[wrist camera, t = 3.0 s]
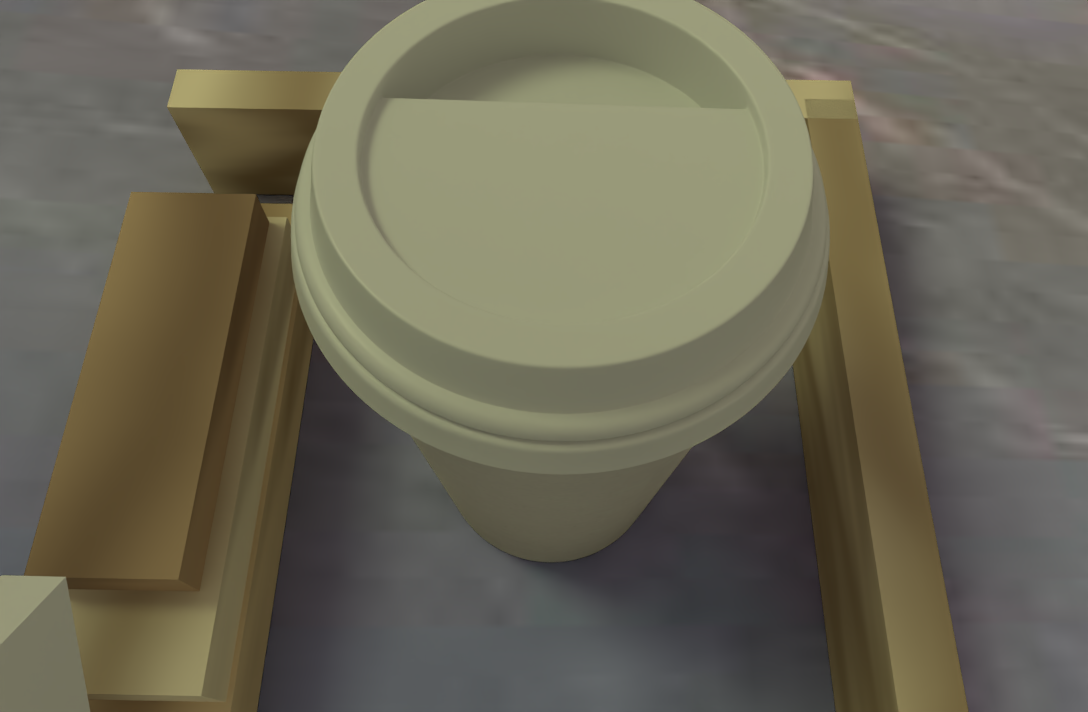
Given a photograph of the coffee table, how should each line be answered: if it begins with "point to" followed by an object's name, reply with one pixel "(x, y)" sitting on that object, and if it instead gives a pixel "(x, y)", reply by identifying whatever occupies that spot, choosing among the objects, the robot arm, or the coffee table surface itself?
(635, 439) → the coffee cup
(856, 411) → the frame
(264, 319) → the offcut stack
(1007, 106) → the coffee table surface
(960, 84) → the coffee table surface
